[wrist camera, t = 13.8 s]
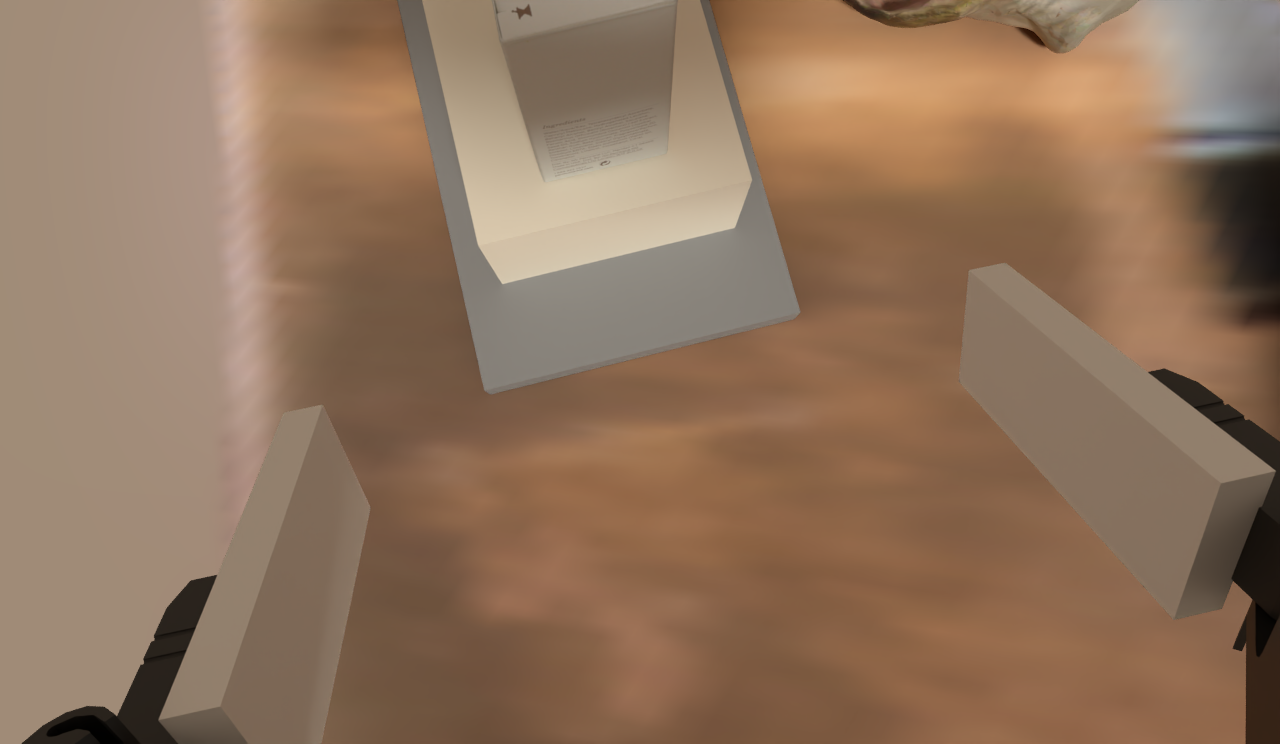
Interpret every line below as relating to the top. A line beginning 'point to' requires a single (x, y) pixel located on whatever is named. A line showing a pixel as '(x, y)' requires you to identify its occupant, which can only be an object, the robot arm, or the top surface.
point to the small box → (590, 79)
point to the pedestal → (594, 211)
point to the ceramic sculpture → (1003, 15)
